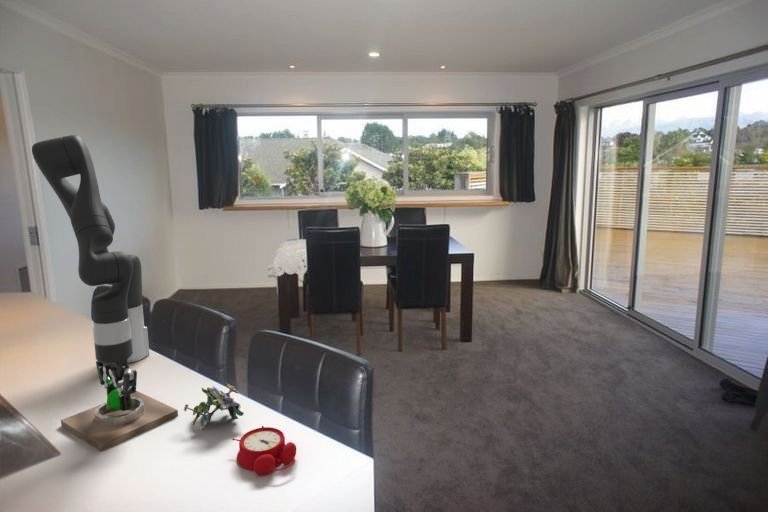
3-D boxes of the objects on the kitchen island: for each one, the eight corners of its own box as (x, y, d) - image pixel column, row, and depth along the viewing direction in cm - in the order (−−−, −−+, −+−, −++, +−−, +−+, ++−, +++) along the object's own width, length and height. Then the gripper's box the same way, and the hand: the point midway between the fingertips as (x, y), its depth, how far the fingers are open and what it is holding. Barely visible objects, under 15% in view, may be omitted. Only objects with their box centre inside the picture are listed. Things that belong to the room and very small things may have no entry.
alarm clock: (267, 420, 106) (305, 431, 96) (271, 447, 106) (310, 461, 96) (224, 438, 99) (260, 452, 88) (228, 467, 99) (265, 485, 88)
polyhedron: (132, 410, 111) (130, 391, 110) (108, 415, 108) (106, 396, 107) (130, 401, 115) (128, 383, 114) (107, 406, 112) (105, 388, 112)
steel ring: (130, 400, 119) (129, 393, 118) (152, 412, 113) (152, 404, 113) (87, 417, 110) (86, 409, 110) (109, 430, 105) (108, 422, 105)
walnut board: (137, 396, 124) (136, 390, 124) (178, 415, 115) (177, 409, 114) (61, 426, 109) (60, 420, 109) (100, 451, 100) (100, 444, 100)
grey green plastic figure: (233, 438, 115) (256, 406, 111) (193, 451, 106) (217, 417, 102) (212, 401, 120) (234, 370, 116) (173, 411, 111) (194, 377, 107)
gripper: (146, 339, 108) (152, 408, 111) (113, 327, 115) (119, 392, 118) (112, 349, 102) (119, 422, 105) (80, 336, 109) (87, 404, 112)
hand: (119, 405), depth 112 cm, fingers closed on polyhedron, 5 cm apart
